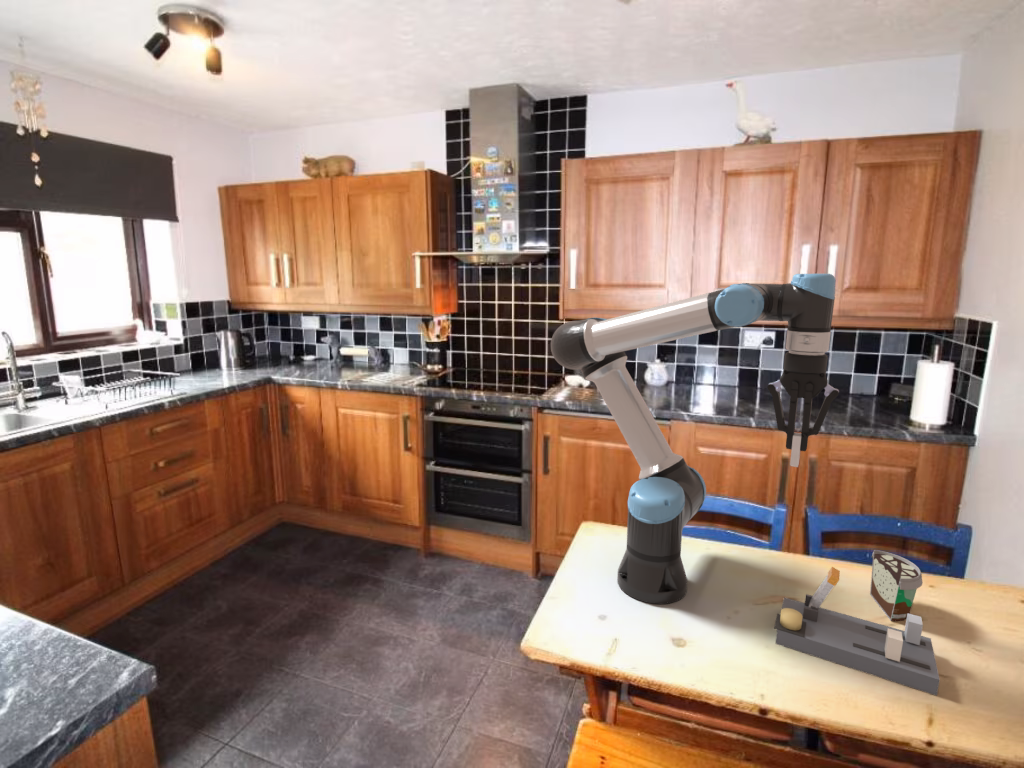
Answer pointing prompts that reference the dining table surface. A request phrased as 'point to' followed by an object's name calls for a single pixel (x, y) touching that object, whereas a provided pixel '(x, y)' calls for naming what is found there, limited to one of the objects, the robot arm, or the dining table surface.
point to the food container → (894, 584)
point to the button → (791, 619)
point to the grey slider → (913, 629)
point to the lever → (824, 588)
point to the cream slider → (893, 645)
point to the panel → (859, 646)
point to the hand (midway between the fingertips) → (794, 464)
